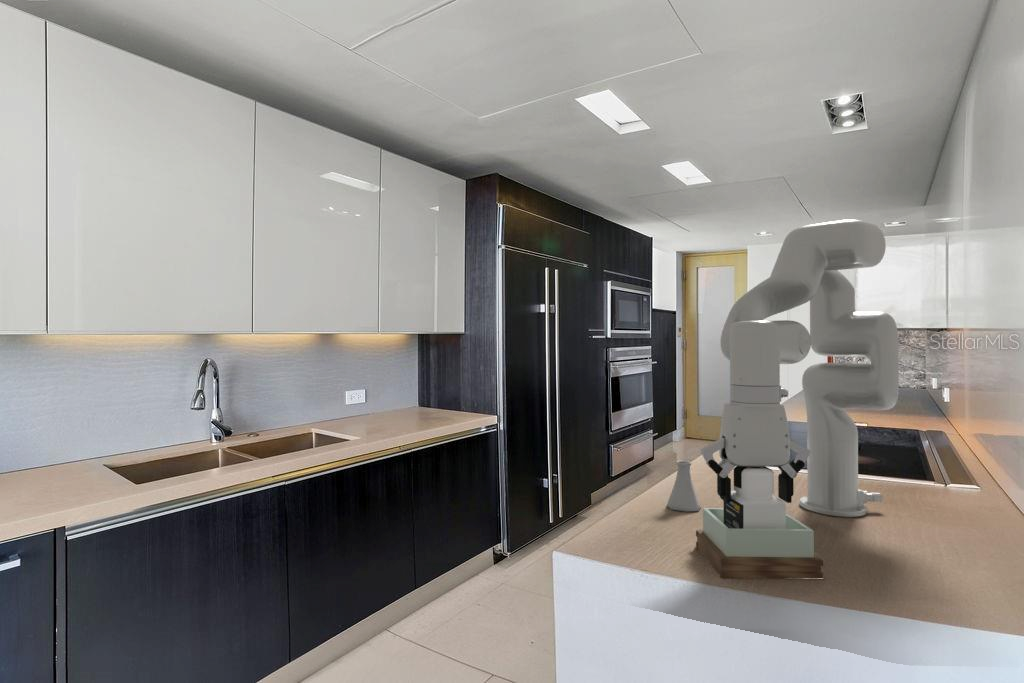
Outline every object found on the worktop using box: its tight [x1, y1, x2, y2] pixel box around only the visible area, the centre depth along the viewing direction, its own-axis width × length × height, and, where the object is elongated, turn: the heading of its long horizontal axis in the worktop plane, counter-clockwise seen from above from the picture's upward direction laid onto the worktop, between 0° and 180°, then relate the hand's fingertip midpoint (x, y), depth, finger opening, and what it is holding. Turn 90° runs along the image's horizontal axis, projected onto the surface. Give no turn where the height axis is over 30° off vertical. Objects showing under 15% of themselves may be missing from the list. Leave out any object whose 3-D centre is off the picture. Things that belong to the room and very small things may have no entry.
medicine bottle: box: [723, 466, 787, 529], centre depth 89 cm, size 7×7×12 cm
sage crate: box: [702, 507, 815, 558], centre depth 89 cm, size 13×11×4 cm
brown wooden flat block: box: [695, 529, 824, 580], centre depth 89 cm, size 15×13×3 cm
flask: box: [666, 460, 702, 512], centre depth 119 cm, size 7×7×10 cm
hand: (755, 500), depth 89 cm, fingers open, 9 cm apart
